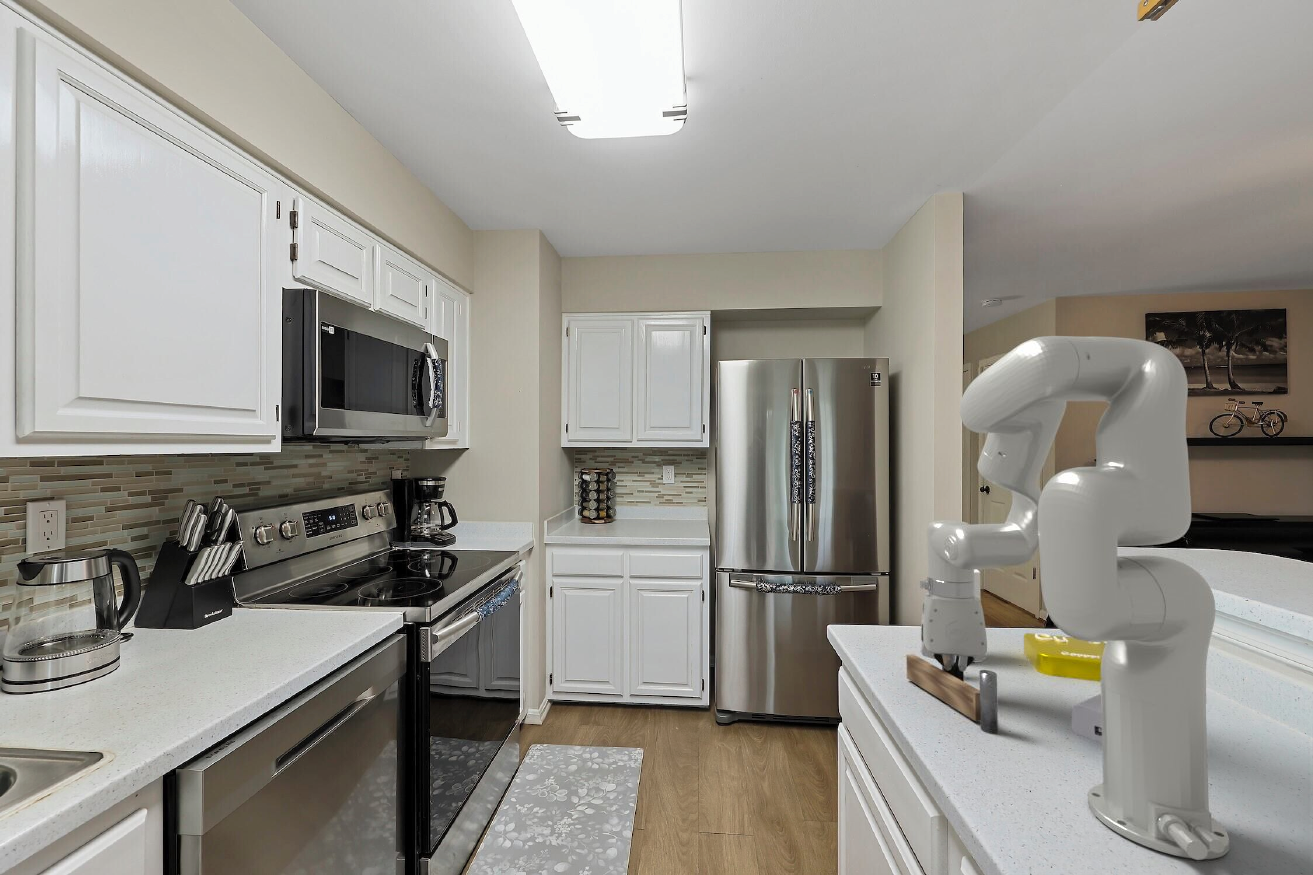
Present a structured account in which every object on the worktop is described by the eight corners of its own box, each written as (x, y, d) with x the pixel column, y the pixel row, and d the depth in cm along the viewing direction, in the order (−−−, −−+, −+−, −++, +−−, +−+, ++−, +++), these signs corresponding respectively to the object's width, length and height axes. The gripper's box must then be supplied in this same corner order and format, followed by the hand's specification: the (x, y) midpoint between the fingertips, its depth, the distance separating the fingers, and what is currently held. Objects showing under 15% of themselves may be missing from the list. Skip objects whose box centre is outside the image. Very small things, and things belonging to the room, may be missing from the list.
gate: (984, 720, 93) (983, 692, 93) (975, 721, 92) (974, 693, 92) (913, 677, 110) (913, 654, 110) (906, 677, 110) (906, 654, 110)
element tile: (1039, 676, 113) (1038, 651, 113) (1021, 651, 127) (1021, 629, 127) (1132, 687, 107) (1132, 662, 108) (1103, 660, 121) (1103, 637, 121)
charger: (1186, 734, 89) (1144, 760, 82) (1115, 711, 97) (1071, 733, 90) (1185, 703, 89) (1143, 727, 82) (1115, 683, 97) (1071, 702, 90)
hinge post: (1000, 734, 89) (999, 676, 89) (983, 732, 90) (982, 675, 90) (994, 726, 91) (993, 670, 92) (978, 725, 92) (977, 669, 92)
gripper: (911, 591, 102) (914, 695, 101) (1004, 595, 98) (1007, 703, 98) (903, 582, 109) (905, 679, 108) (989, 586, 106) (992, 686, 105)
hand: (953, 690), depth 103 cm, fingers closed
